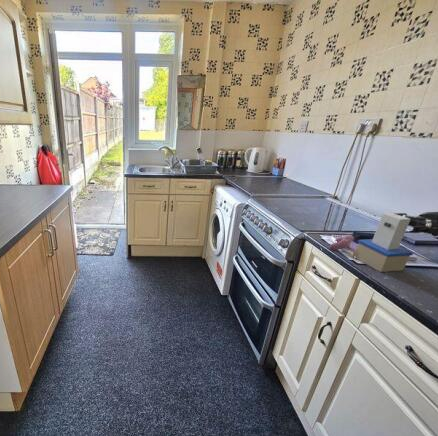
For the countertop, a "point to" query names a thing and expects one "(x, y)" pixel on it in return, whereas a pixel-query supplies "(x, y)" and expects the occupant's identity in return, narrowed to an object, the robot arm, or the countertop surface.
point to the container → (381, 256)
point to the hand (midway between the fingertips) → (399, 224)
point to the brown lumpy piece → (342, 242)
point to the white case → (390, 231)
